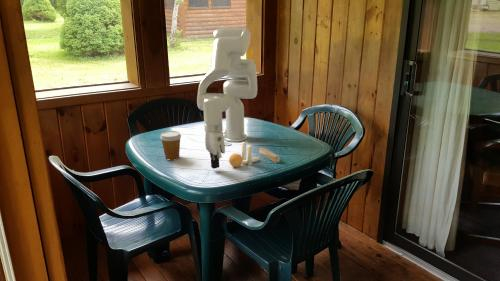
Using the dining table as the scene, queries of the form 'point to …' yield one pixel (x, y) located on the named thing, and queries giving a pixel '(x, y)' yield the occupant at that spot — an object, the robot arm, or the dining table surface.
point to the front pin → (252, 160)
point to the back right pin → (249, 155)
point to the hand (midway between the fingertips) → (215, 167)
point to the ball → (235, 160)
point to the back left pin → (244, 150)
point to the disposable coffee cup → (171, 144)
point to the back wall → (269, 154)
